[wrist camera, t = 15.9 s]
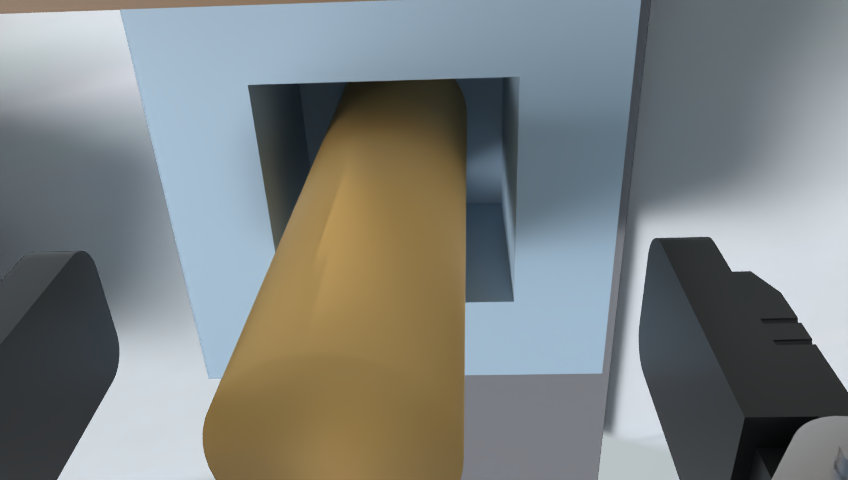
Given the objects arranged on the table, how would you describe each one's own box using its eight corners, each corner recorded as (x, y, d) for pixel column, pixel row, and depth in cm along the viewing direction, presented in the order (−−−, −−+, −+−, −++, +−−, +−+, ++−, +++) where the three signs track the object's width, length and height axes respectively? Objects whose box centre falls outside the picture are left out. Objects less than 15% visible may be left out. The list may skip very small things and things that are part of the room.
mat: (591, 511, 26) (592, 520, 25) (269, 513, 26) (267, 522, 26) (662, -153, 15) (667, -152, 15) (132, -131, 16) (125, -129, 16)
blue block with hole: (567, 244, 20) (602, 373, 15) (260, 251, 20) (208, 378, 16) (590, -92, 15) (646, -47, 11) (202, -78, 16) (111, -27, 11)
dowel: (467, 172, 17) (465, 545, 9) (346, 174, 18) (226, 541, 9) (465, 51, 16) (461, 353, 7) (334, 55, 16) (177, 353, 8)
